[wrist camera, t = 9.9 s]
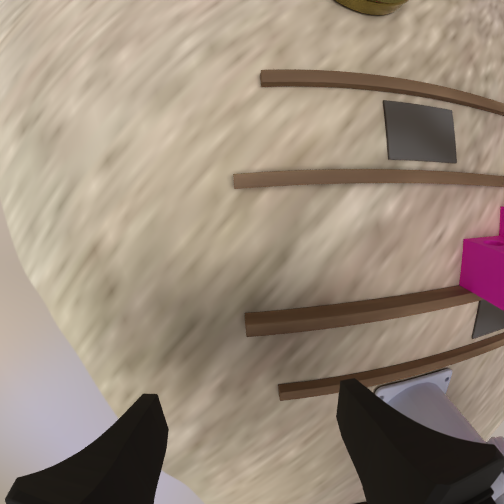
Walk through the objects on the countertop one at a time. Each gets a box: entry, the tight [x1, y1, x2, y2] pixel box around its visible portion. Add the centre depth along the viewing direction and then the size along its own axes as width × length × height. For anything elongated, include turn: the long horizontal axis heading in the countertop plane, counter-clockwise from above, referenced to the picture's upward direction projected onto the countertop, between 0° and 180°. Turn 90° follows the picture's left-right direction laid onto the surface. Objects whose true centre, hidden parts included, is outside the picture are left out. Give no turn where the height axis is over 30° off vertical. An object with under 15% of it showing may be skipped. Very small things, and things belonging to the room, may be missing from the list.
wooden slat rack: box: [233, 70, 504, 401], centre depth 18 cm, size 22×33×4 cm
